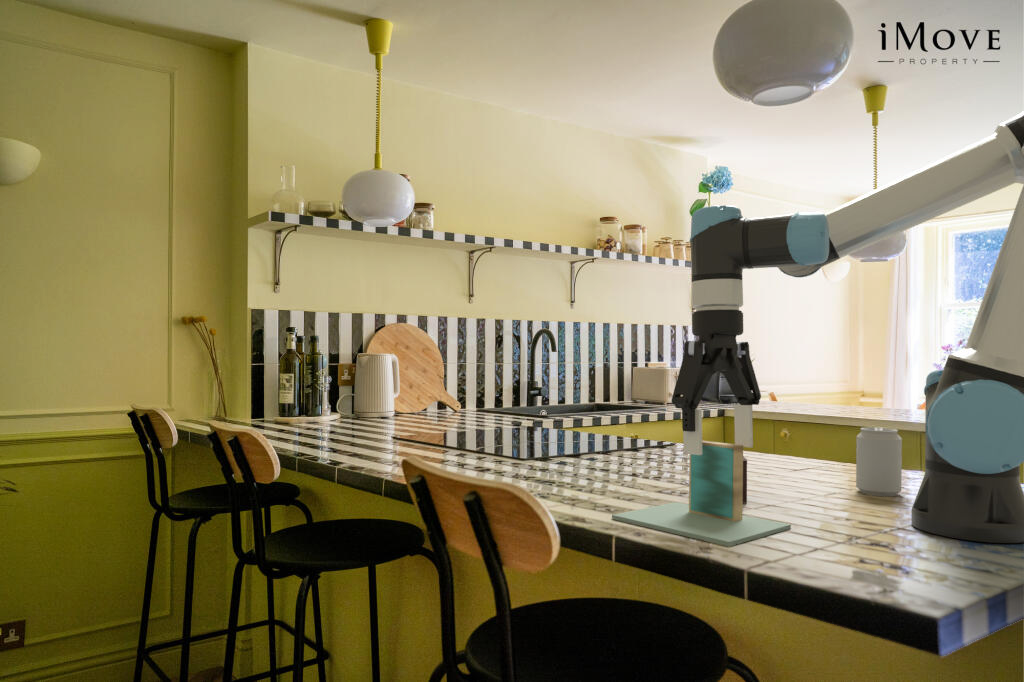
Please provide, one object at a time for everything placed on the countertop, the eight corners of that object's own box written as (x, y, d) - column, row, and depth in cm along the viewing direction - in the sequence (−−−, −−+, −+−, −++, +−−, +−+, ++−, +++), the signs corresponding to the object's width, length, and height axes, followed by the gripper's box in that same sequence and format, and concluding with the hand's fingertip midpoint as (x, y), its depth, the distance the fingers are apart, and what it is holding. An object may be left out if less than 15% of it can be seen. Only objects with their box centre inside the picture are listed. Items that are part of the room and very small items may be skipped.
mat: (790, 528, 106) (790, 524, 106) (729, 546, 95) (729, 541, 95) (676, 505, 121) (676, 501, 121) (611, 518, 110) (611, 514, 110)
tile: (742, 519, 108) (743, 445, 108) (734, 521, 107) (735, 446, 107) (696, 510, 114) (697, 439, 114) (688, 512, 113) (689, 440, 113)
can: (857, 495, 133) (857, 428, 133) (854, 488, 140) (855, 425, 140) (903, 498, 130) (904, 431, 130) (899, 491, 137) (899, 427, 137)
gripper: (739, 314, 122) (742, 441, 121) (645, 307, 106) (647, 455, 105) (782, 311, 116) (784, 445, 116) (689, 304, 100) (691, 460, 99)
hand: (719, 450), depth 110 cm, fingers open, 13 cm apart
